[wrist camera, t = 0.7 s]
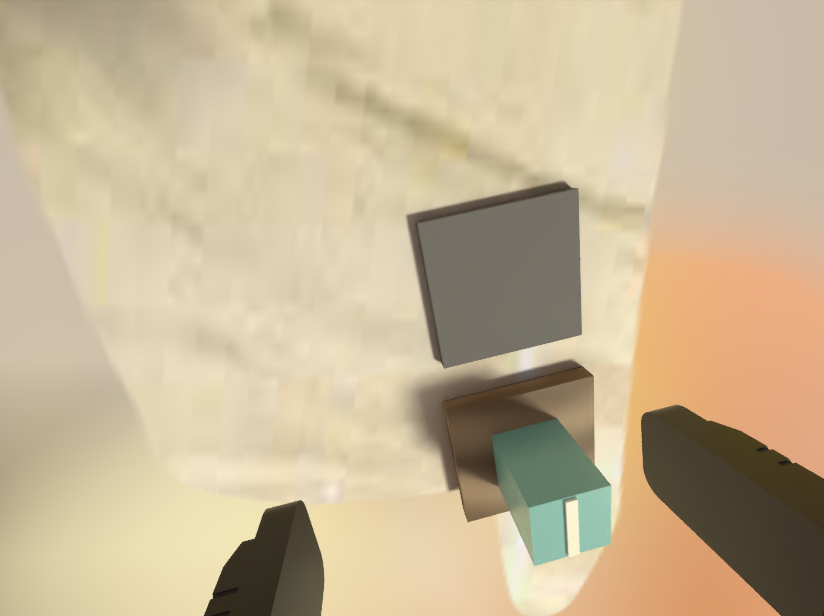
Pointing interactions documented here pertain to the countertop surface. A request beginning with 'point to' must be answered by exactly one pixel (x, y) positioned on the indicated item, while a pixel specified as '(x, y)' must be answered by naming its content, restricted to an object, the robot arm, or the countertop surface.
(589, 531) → the striped teal box
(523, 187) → the countertop surface
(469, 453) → the post base
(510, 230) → the mat
